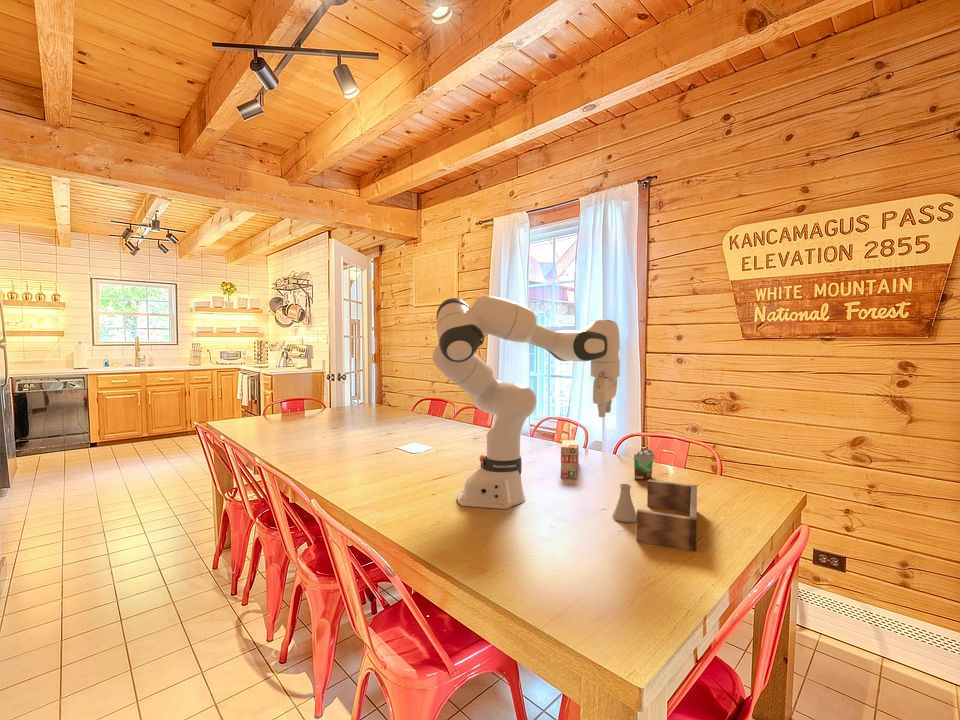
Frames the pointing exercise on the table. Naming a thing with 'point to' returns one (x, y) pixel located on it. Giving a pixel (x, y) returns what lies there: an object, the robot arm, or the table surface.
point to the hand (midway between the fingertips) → (604, 414)
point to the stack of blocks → (569, 459)
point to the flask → (625, 506)
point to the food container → (643, 464)
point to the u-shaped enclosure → (669, 516)
